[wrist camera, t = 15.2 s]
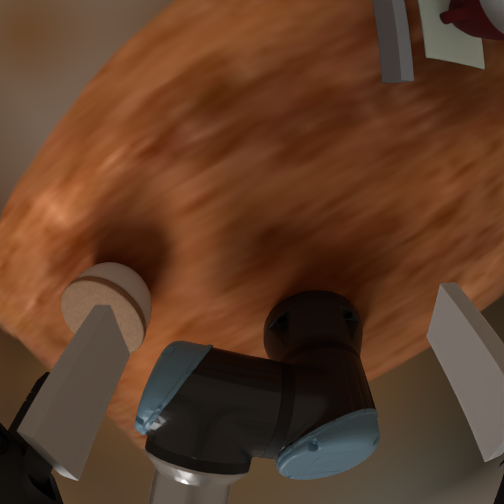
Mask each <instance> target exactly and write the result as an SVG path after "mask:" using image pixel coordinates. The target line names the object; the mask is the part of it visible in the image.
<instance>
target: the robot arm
mask: <svg viewBox="0 0 504 504" xmlns="http://www.w3.org/2000/svg"><path fill="white" fill-rule="evenodd" d="M362 336H363V328H362V323H361V320H360V317H359V314H358V312H357V310H356V308H355V307H354V305H353V304H352V303H351V302H350V301H348V300H347V299H346V298H344V297H342V296H340V295H338V294H335V293H332V292H326V291H309V292H304V293H300V294H297V295H294V296H292V297H290V298H288V299H286V300H284V301H283V302H281V303H280V304H279V305H277V306H276V307H275V308H274V309H273V310H272V312H271V313H270V314H269V316H268V318H267V320H266V322H265V326H264V347H265V351H266V353H267V355H268V357H269V359H265V358H260V357H255V356H250V355H245V354H240V353H236V352H231V351H227V350H222V349H218V348H214V347H213V345H210V344H209V345H202V344H196V343H191V342H187V341H175V342H172V343H171V344H169V345H168V346H167V347H166V348H165V349H164V350H163V352H162V353H161V355H160V356H159V358H158V360H157V362H156V364H155V366H154V368H153V370H152V372H151V374H150V377H149V379H148V381H147V384H146V386H145V389H144V391H143V394H142V397H141V400H140V403H139V406H138V410H137V416H136V420H135V428H136V430H137V431H139V432H140V433H141V434H143V435H145V434H147V440H146V445H145V452H146V454H147V455H148V456H149V458H150V459H151V460H152V462H153V463H154V465H155V471H154V476H153V481H152V486H151V491H150V497H149V503H148V504H227V503H228V498H229V493H230V489H231V485H232V483H233V482H234V481H236V480H238V479H240V478H242V477H243V476H245V475H247V474H248V472H249V468H250V464H251V460H252V458H253V457H260V458H268V459H275V460H276V466H277V468H278V471H279V472H280V474H282V475H284V476H287V477H288V478H291V479H299V480H306V479H316V478H323V477H327V476H331V475H334V474H338V473H340V472H343V471H346V470H348V469H350V468H352V467H354V466H356V465H358V464H359V463H361V462H363V461H364V460H365V459H367V458H368V457H369V456H370V455H371V454H372V453H373V452H374V451H375V449H376V448H377V446H378V444H379V441H380V430H379V425H378V413H377V411H376V408H375V405H374V401H373V399H372V395H371V391H370V388H369V385H368V381H367V378H366V375H365V372H364V369H363V365H362V362H361V359H360V353H361V344H362ZM427 339H428V341H429V343H430V345H431V347H432V348H433V350H434V352H435V354H436V356H437V358H438V360H439V362H440V363H441V365H442V367H443V369H444V371H445V373H446V375H447V377H448V379H449V382H450V383H451V386H452V388H453V390H454V392H455V394H456V396H457V398H458V400H459V402H460V404H461V407H462V409H463V411H464V413H465V415H466V418H467V420H468V422H469V425H470V427H471V429H472V432H473V434H474V436H475V439H476V441H477V444H478V446H479V449H480V451H481V454H482V456H483V459H484V461H485V462H486V461H489V460H491V459H493V458H495V457H497V456H500V455H502V454H503V453H504V344H503V343H502V341H501V340H500V338H499V337H498V336H497V334H496V333H495V332H494V330H493V329H492V327H491V326H490V325H489V324H488V322H487V321H486V320H485V318H484V317H483V316H482V314H481V313H480V312H479V310H478V309H477V308H476V307H475V305H474V304H473V303H472V302H471V300H470V299H469V298H468V297H467V296H466V294H465V293H464V292H463V291H462V289H461V288H460V287H459V286H458V285H457V283H456V282H451V283H444V284H440V287H439V291H438V295H437V300H436V304H435V308H434V311H433V315H432V319H431V323H430V326H429V330H428V333H427ZM129 357H130V352H129V350H128V348H127V345H126V343H125V340H124V338H123V336H122V333H121V331H120V328H119V326H118V323H117V321H116V318H115V316H114V313H113V310H112V308H111V305H95V306H94V307H93V309H92V310H91V312H90V313H89V314H88V316H87V317H86V319H85V320H84V322H83V323H82V325H81V326H80V328H79V329H78V331H77V332H76V333H75V335H74V336H73V338H72V339H71V341H70V343H69V344H68V346H67V347H66V349H65V350H64V352H63V353H62V355H61V356H60V358H59V360H58V361H57V363H56V364H55V366H54V368H53V369H52V371H51V372H46V373H45V374H44V375H43V376H42V377H40V378H39V379H38V380H37V381H36V383H35V385H34V386H33V388H32V390H31V393H29V395H28V396H27V398H26V401H25V402H24V403H23V405H22V406H21V408H20V410H19V412H18V413H17V415H16V417H15V419H14V421H13V422H12V424H11V426H10V428H9V429H8V431H7V430H6V428H5V427H4V426H3V425H2V424H1V423H0V504H63V501H62V498H61V496H60V493H59V490H58V487H57V484H56V481H55V478H54V477H53V475H52V474H51V471H52V468H54V469H55V470H56V471H58V472H59V473H60V474H61V475H62V476H65V477H68V478H71V479H74V480H77V481H79V479H80V476H81V473H82V470H83V468H84V465H85V462H86V460H87V457H88V455H89V452H90V449H91V447H92V444H93V442H94V439H95V436H96V434H97V431H98V429H99V427H100V424H101V421H102V419H103V417H104V414H105V412H106V410H107V407H108V405H109V402H110V400H111V398H112V395H113V393H114V391H115V388H116V386H117V384H118V381H119V379H120V377H121V375H122V372H123V370H124V368H125V366H126V363H127V361H128V359H129ZM503 466H504V460H503V462H501V464H500V466H499V469H501V468H502V467H503ZM494 504H504V475H503V478H502V481H501V484H500V487H499V490H498V493H497V496H496V498H495V501H494Z"/></svg>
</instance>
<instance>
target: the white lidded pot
mask: <svg viewBox="0 0 504 504" xmlns="http://www.w3.org/2000/svg"><path fill="white" fill-rule="evenodd" d="M95 305H111V308H112V310H113V313H114V316H115V318H116V321H117V323H118V326H119V328H120V331H121V333H122V336H123V338H124V340H125V343H126V345H127V348H128V350H129V352H130V354H131V353H133V352H135V351H136V350H137V349H138V348H139V347H140V346H141V344H142V343H143V340H144V338H145V335H146V331H147V328H148V326H149V323H150V319H151V312H152V300H151V295H150V292H149V289H148V287H147V285H146V283H145V282H144V280H143V279H142V278H141V276H140V275H139V274H138V273H137V272H135V271H134V270H133V269H131V268H129V267H128V266H125V265H123V264H120V263H114V262H104V263H99V264H96V265H94V266H92V267H90V268H88V269H87V270H85V271H84V272H82V273H81V274H80V275H79V276H78V277H77V278H76V279H75V280H74V281H72V282H71V283H70V284H69V285H68V286H67V287H66V289H65V290H64V292H63V294H62V298H61V309H62V313H63V316H64V319H65V321H66V323H67V325H68V327H69V328H70V330H71V331H72V332H73V333H74V335H75V333H76V332H77V331H78V329H79V328H80V326H81V325H82V323H83V322H84V320H85V319H86V317H87V316H88V314H89V313H90V312H91V310H92V309H93V307H94V306H95Z"/></svg>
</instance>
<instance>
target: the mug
mask: <svg viewBox="0 0 504 504" xmlns="http://www.w3.org/2000/svg"><path fill="white" fill-rule="evenodd" d="M439 17H440V20H441V21H442V23H443V24H450V23H452V24H453V25H454V26H455V27H456V28H457V29H459V30H461V31H462V32H464V33H466V34H468V35H470V36H473V37H477V38H485V39H493V40H504V0H450V4H449V9H448V11H445V12H442V13H440V15H439Z"/></svg>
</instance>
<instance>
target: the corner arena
mask: <svg viewBox="0 0 504 504" xmlns="http://www.w3.org/2000/svg"><path fill="white" fill-rule="evenodd" d="M372 1H373V7H374V13H375V20H376V27H377V35H378V43H379V53H380V63H381V75H382V82H386V83H399V82H410V81H414V74H413V62H412V52H411V43H410V35H409V27H408V20H407V14H406V8H405V2H404V0H372ZM449 4H450V0H418V6H419V11H420V17H421V24H422V31H423V39H424V47H425V56H426V57H428V58H434V59H439V60H445V61H450V62H455V63H460V64H464V65H469V66H473V67H477V68H481V69H485V66H484V56H483V47H482V39H481V38H477V37H473V36H470V35H468V34H466V33H464V32H462V31H461V30H459V29H457V28H456V27H455V26H454V25H453V24H452V23H450V24H443V23H442V21H441V20H440V17H439V15H440V13H442V12H445V11H448V9H449Z"/></svg>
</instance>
